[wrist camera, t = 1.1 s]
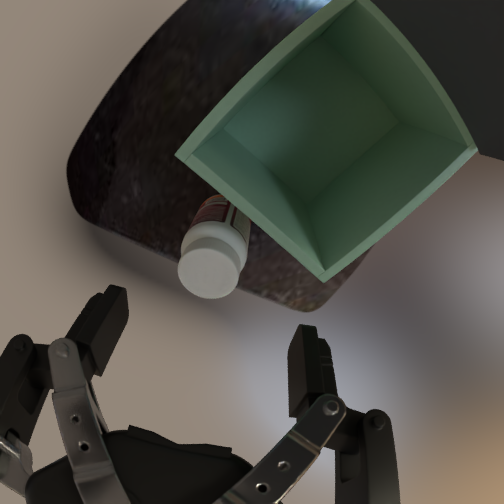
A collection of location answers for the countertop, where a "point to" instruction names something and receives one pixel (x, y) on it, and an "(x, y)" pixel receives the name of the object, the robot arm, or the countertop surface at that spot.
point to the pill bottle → (214, 249)
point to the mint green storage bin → (332, 137)
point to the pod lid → (461, 58)
